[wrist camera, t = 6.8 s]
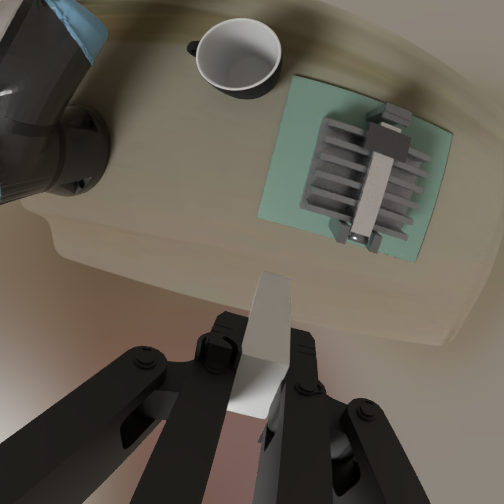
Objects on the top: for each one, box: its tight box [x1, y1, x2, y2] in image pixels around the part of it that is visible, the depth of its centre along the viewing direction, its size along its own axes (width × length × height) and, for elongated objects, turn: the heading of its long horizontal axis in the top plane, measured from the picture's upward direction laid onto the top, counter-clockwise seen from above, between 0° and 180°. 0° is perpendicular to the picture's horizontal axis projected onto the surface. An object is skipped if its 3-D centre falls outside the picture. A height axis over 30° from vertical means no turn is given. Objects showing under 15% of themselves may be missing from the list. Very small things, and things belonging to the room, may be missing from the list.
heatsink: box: [299, 102, 432, 254], centre depth 32 cm, size 14×16×9 cm
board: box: [257, 75, 452, 263], centre depth 36 cm, size 24×20×1 cm
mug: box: [187, 18, 282, 99], centre depth 30 cm, size 12×9×10 cm
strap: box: [348, 122, 412, 245], centre depth 30 cm, size 5×14×1 cm, turn 166°
